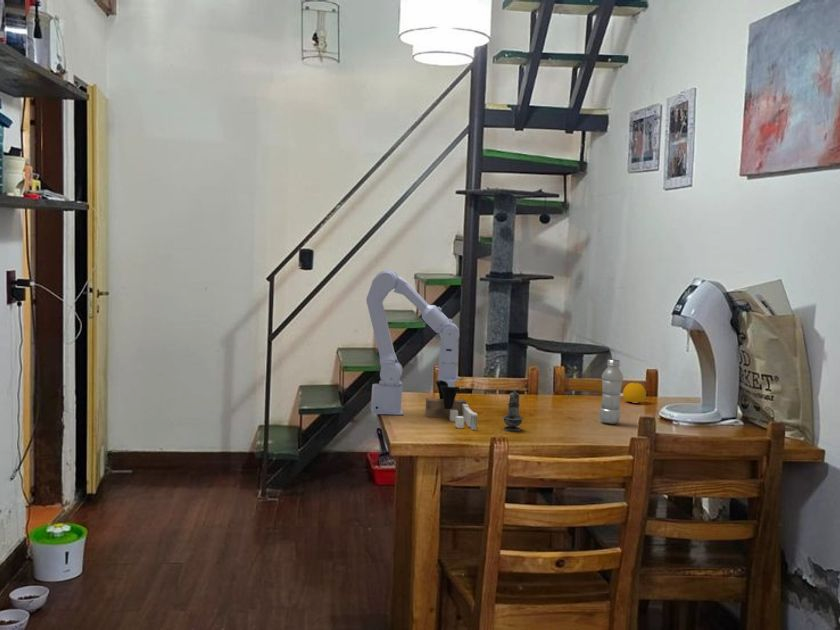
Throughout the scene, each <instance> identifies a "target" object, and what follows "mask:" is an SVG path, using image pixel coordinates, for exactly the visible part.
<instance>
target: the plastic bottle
mask: <svg viewBox="0 0 840 630" xmlns="http://www.w3.org/2000/svg"><path fill="white" fill-rule="evenodd" d="M606 365H607V367H606V368H605V369H604V371H603V372H602V373H601V383H602V384H601V385H602V396H601V397H602V398H601V404H600V407H599V412H598V417H599V421H600V422H602V423H604V424H607V423H610V424H609V425H615V424H619V422H620V420H621V415H622V414H621V408H620V407H621V403H620V402H621V401H620V399H621V390H622V386H623V381H624V376H623V373H622V371H621V369H620V368H619V367H620V365H621V361H620V359H616V358H615V359H614V358H609V359H607V363H606Z"/></svg>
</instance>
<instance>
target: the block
mask: <svg viewBox="0 0 840 630" xmlns="http://www.w3.org/2000/svg"><path fill="white" fill-rule="evenodd" d="M462 404H467V401H466V400H465V399H460V398H459V399H458V398H457V399H456V398H455V399H454V403H453V407H452V409H445V407H444V399H440V398H425V411H424V412H425V413H424V414H425V416H426V417H427V418H450V410H457V411H458V416H462Z"/></svg>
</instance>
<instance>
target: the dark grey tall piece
mask: <svg viewBox="0 0 840 630" xmlns="http://www.w3.org/2000/svg"><path fill="white" fill-rule="evenodd" d="M519 401H520V394H519V393H518V392H517V390H516V389H515V388H514V389H513V391H512V392H510V393H509V401H508V404H507V405H508V410H507V414H506V415H503V416H502V418H503V421H504V424H505V425H506V426H504V427H503V428H502V429H503V430H504V431H505V432H506V431H507V432H512V433H513V432H515V433H516V432H517V433H518V432H521V431H522V429H521V428H520V427H519V426H521V424H522V422H523V420H524V417H523V416H521V415H520V412H519V408H520V406H521V404H520V402H519Z"/></svg>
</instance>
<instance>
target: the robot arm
mask: <svg viewBox="0 0 840 630" xmlns="http://www.w3.org/2000/svg"><path fill="white" fill-rule="evenodd" d="M393 290H394V291H393ZM391 291H393V293H395V294H399V295H403V296H404V297H405V298H406V299H407V300H408V301H409V302H411V304H412V305H413V306H414V307H415V308H417V309H418V311H420V312H421V319H422V320H423V321H424V322H425V323H426V324H427V325H428V326H429V327H430V328H431V329H432V331H434V332H435V333H437V334H439V338H440V339H441V340H440V347H439V356H438V357H439V359H438V373H437V374H438V375H437V380H434V381H435V383H436V387H437V390H438V396H439V399H444V407H445V409H452V407H453V403H454V399H456V396H457V394H458V392H459V390H460V387H459V386H456V382H457V381H458V380H459V381H460V380H461V377H460V376H458V362H459V339H460V329H459V327H458V326H457V324H456V323H454V322H453V320H452V319H451V318H448V317H447V316H446V315H445V313H444V312H443V311H442V310H443V309H442V308H441V306H437V305H435V304H428V302H427V301H426V300H425V299H424V297H422V296H421V295H420V294H419V292H417V291H416V289H414V287H413V286H412V285H411V284H410V283H409V282H408V281H406V280H405V279H404V278H403V277H401V276H400V275H398V273H397V272H396V271H394V270H392V269H384V270H381V271H379V272H378V273H376V275H375V276H374V278H373V279H372V282H371V284H370V288H369V290H368V293H367V295H366V301H365V302H366V305H367V308H368V309H367V310H368V313H369V318H370V322H371V325H372V329H373V334H374V338H375V342H376V346H377V351H378V355H379V365H380V372H379V378H380V380H379V383H373V384H371V386H372V387H371V401H370V410H371V413H372V414H373V415H398V416H399V415H404V411H403V410H402V401H403V400H402V398H403V397H402V396H403V383H404V382H402V381H401V377H402V376H403V372H404V371H403V369H404V368H403V365H402V364H401V363H400V362H399V360H398V358H397V354H396V352H395V348H394V344H393V341H392V336H391V331H390V327H389V324H388V320H387V319H388V318H387V314H386V311H385V307H384V301H385V299H386V297H387V296H388V295H389V293H390V292H391Z"/></svg>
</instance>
